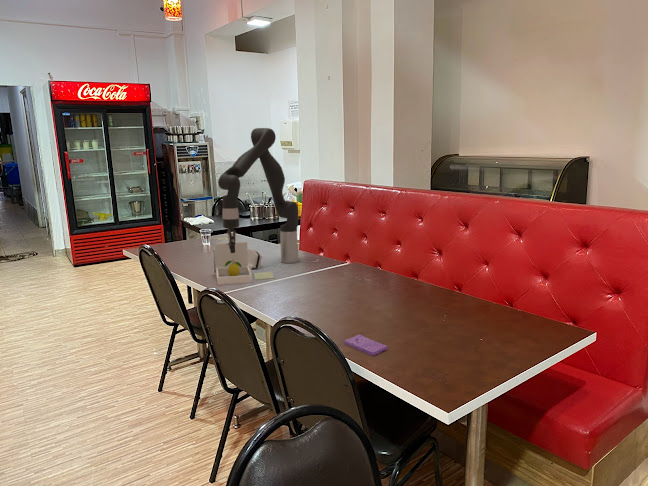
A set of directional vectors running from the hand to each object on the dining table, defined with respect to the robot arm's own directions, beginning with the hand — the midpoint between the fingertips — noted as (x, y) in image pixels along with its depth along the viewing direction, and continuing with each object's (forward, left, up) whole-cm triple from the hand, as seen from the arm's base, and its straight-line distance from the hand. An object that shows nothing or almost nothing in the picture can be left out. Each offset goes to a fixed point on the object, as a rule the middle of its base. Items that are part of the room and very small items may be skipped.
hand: (232, 251), depth 234 cm
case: (0, -1, -14) cm, 14 cm away
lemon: (0, 0, -14) cm, 14 cm away
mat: (-15, 0, -14) cm, 20 cm away
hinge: (-10, -23, -14) cm, 29 cm away
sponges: (-36, +93, -15) cm, 101 cm away
